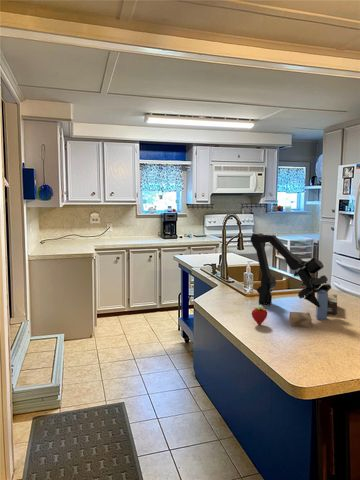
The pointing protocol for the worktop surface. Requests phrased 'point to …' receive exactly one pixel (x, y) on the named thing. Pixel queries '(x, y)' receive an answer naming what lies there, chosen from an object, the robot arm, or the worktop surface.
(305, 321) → the walnut base
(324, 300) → the blue-grey tall block
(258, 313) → the strawberry
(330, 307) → the coffee box
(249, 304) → the worktop surface
